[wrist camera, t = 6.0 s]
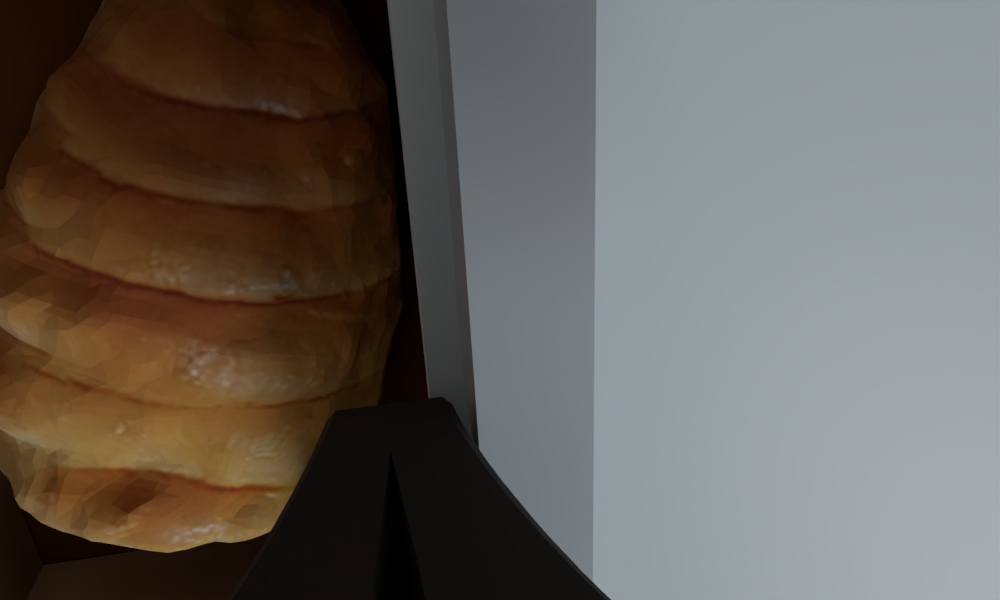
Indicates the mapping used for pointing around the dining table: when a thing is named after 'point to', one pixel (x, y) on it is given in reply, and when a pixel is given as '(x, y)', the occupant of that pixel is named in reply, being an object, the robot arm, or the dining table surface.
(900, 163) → the lid
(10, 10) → the dining table surface
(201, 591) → the walnut box
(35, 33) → the dining table surface
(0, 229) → the pastry
